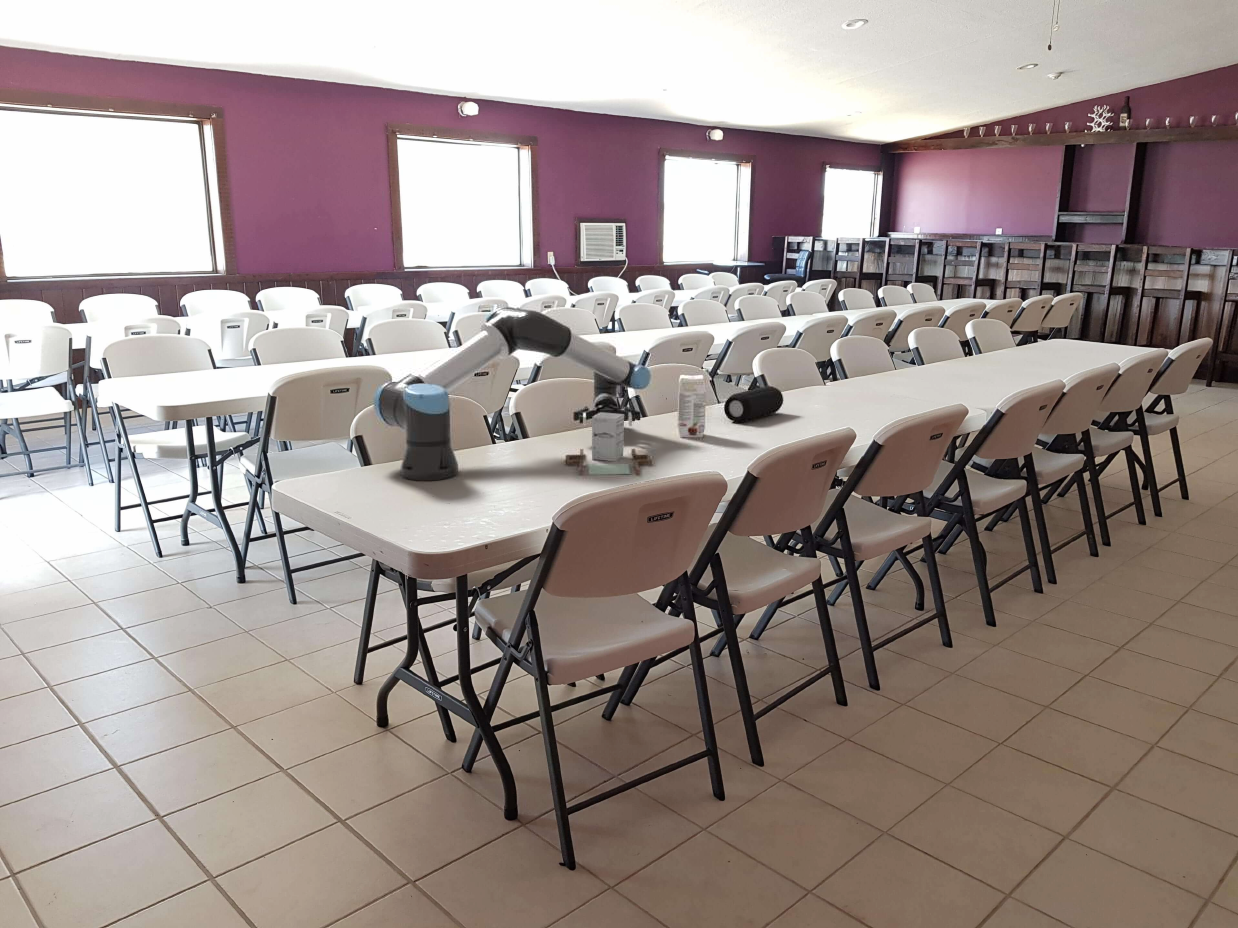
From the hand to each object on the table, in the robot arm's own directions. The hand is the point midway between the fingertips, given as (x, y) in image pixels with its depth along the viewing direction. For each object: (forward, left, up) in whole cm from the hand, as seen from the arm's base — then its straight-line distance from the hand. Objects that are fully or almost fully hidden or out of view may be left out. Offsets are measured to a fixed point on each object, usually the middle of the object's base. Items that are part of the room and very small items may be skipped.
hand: (607, 421), depth 279 cm
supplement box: (0, -10, -9) cm, 13 cm away
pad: (0, -23, -9) cm, 25 cm away
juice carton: (+27, +19, -9) cm, 34 cm away
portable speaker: (+52, +47, -9) cm, 71 cm away
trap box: (0, -17, -9) cm, 19 cm away
